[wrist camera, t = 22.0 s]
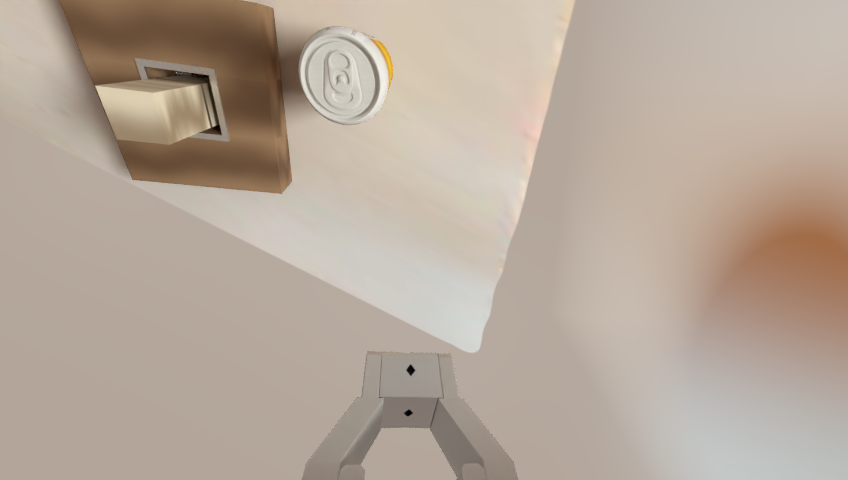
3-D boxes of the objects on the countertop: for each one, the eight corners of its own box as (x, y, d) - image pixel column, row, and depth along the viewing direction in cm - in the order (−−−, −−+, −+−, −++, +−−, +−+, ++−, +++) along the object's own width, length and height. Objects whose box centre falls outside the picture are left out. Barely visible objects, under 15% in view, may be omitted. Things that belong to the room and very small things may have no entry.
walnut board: (90, -22, 27) (43, -33, 24) (273, 8, 29) (255, 2, 26) (157, 167, 37) (131, 180, 33) (292, 181, 39) (280, 194, 35)
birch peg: (183, 74, 32) (94, 85, 23) (224, 79, 32) (153, 92, 23) (194, 114, 34) (116, 139, 25) (232, 119, 35) (169, 145, 25)
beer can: (339, 97, 34) (301, 126, 21) (333, 32, 31) (285, 21, 18) (393, 100, 34) (387, 130, 22) (393, 36, 31) (386, 28, 19)
